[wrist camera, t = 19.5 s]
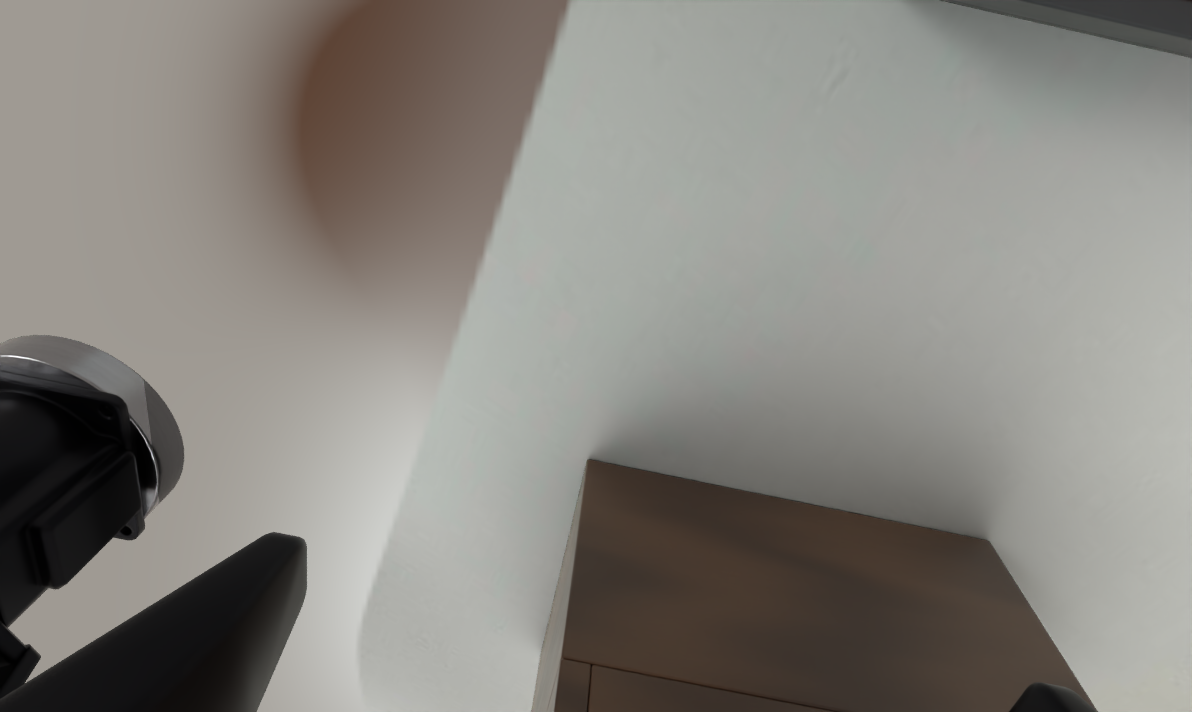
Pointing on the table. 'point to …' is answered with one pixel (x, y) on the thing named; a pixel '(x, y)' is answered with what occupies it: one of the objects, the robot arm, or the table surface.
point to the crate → (778, 609)
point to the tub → (1107, 19)
